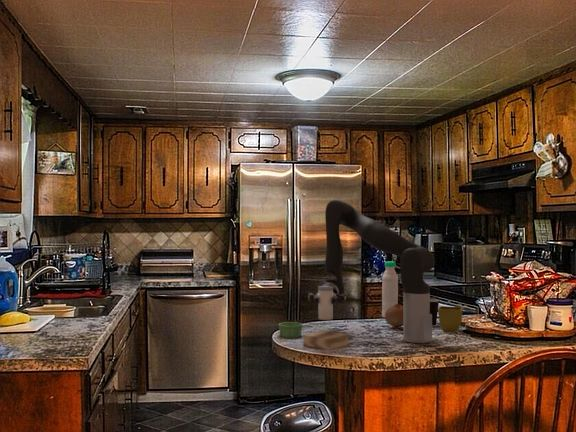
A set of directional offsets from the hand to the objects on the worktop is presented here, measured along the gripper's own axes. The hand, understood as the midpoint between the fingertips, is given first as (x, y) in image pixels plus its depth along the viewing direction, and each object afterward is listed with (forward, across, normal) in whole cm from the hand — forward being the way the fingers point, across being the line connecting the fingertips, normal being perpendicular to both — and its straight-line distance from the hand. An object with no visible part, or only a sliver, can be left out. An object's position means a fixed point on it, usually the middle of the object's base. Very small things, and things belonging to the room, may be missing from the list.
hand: (325, 300), depth 188 cm
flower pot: (-36, +47, +16) cm, 61 cm away
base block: (-2, 0, +16) cm, 16 cm away
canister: (-3, 0, +6) cm, 7 cm away
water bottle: (-63, +25, +16) cm, 70 cm away
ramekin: (-16, -14, +16) cm, 27 cm away
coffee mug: (-50, +40, +16) cm, 66 cm away
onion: (-38, +26, +16) cm, 49 cm away
